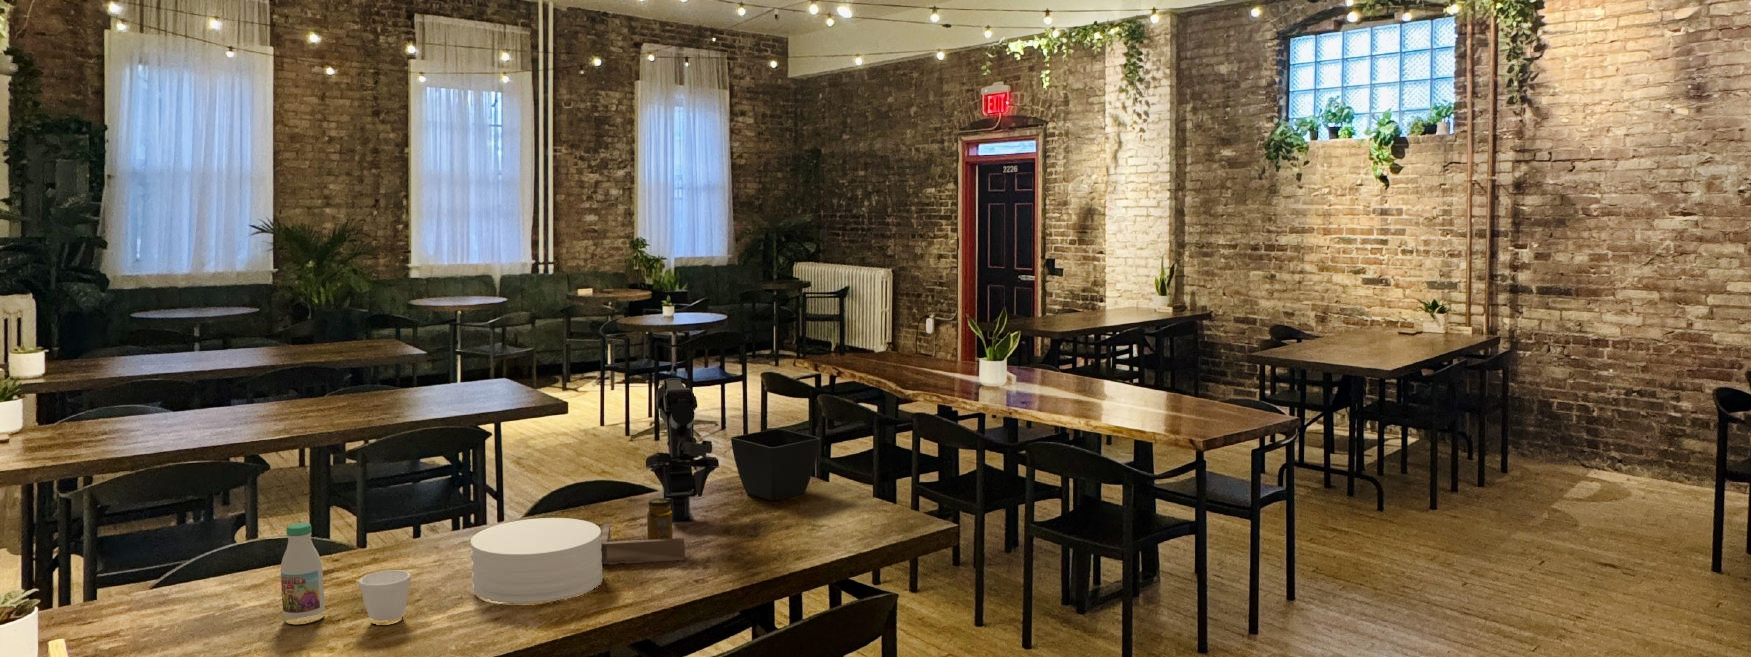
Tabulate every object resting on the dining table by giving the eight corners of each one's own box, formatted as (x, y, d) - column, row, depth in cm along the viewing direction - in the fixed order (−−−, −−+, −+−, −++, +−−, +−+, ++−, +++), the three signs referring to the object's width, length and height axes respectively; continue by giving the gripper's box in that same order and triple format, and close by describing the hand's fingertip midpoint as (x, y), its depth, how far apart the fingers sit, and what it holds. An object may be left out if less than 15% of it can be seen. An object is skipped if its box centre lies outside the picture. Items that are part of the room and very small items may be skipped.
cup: (362, 633, 236) (360, 588, 235) (358, 617, 244) (356, 574, 243) (416, 624, 240) (413, 580, 239) (410, 609, 249) (408, 566, 248)
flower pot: (822, 493, 343) (821, 436, 341) (773, 506, 329) (772, 447, 327) (778, 482, 356) (778, 427, 354) (729, 494, 342) (728, 437, 340)
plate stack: (534, 558, 284) (532, 512, 282) (628, 575, 271) (626, 526, 270) (444, 594, 259) (442, 544, 257) (543, 614, 246) (541, 561, 245)
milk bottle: (292, 613, 247) (286, 520, 245) (331, 612, 248) (325, 519, 245) (277, 627, 239) (271, 531, 237) (316, 625, 240) (310, 530, 238)
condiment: (676, 543, 293) (675, 496, 292) (672, 554, 285) (671, 505, 284) (646, 544, 293) (645, 497, 292) (641, 554, 285) (640, 506, 283)
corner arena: (604, 543, 295) (603, 523, 295) (683, 538, 299) (682, 519, 298) (600, 564, 278) (600, 544, 278) (684, 560, 282) (683, 539, 281)
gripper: (667, 424, 291) (670, 486, 286) (729, 430, 304) (733, 490, 299) (643, 436, 299) (646, 496, 294) (704, 441, 311) (708, 500, 306)
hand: (684, 495), depth 298 cm, fingers open, 9 cm apart
